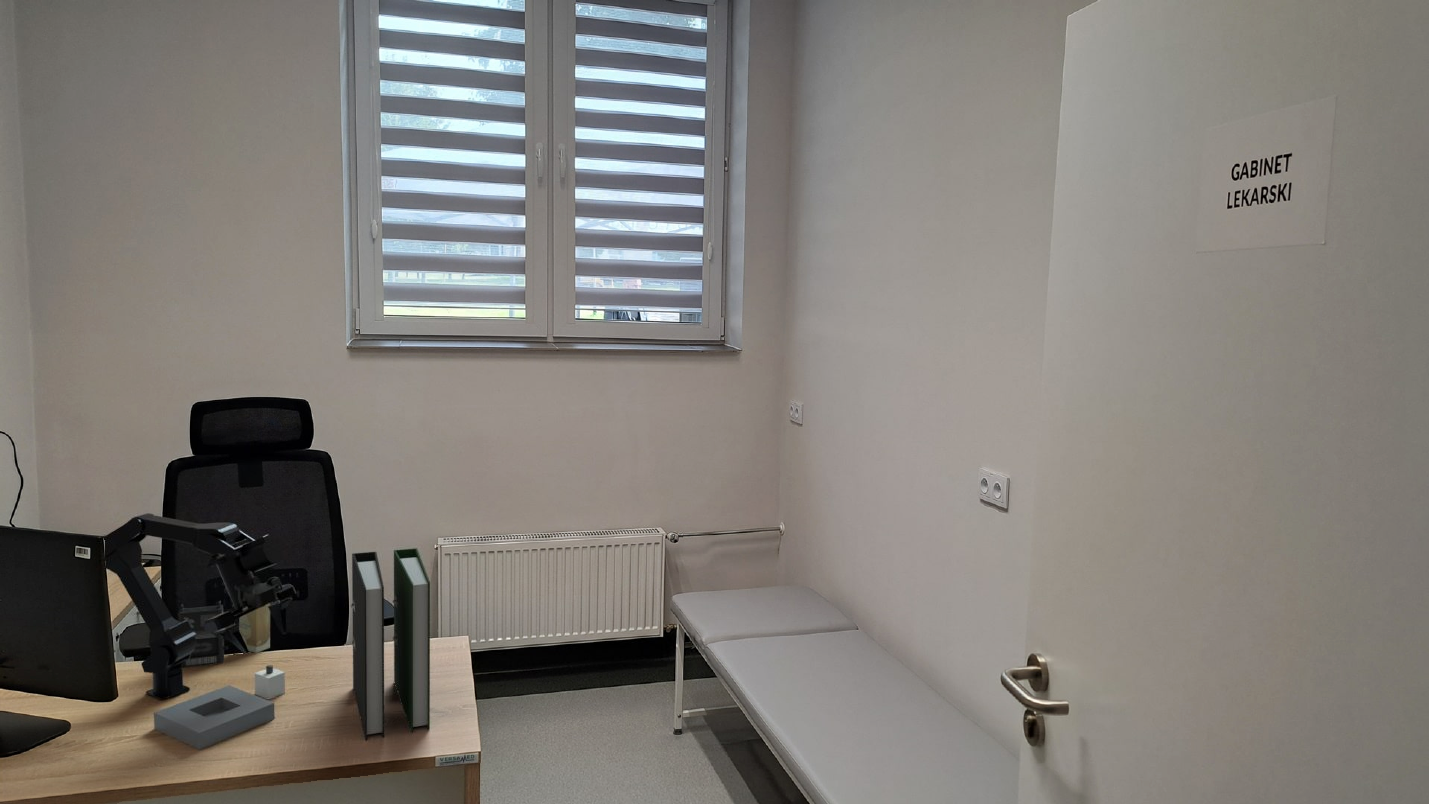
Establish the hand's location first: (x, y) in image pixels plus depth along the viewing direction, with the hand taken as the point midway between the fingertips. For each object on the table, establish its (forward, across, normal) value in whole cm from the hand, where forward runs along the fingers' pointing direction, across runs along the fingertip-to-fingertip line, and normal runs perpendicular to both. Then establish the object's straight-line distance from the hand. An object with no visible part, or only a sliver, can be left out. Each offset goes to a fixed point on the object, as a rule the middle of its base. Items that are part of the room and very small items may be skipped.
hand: (266, 643), depth 195 cm
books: (+23, +10, -18) cm, 31 cm away
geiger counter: (+2, +2, +34) cm, 35 cm away
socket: (+11, -15, +3) cm, 18 cm away
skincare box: (+4, +14, +33) cm, 36 cm away
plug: (+12, 0, +7) cm, 14 cm away
